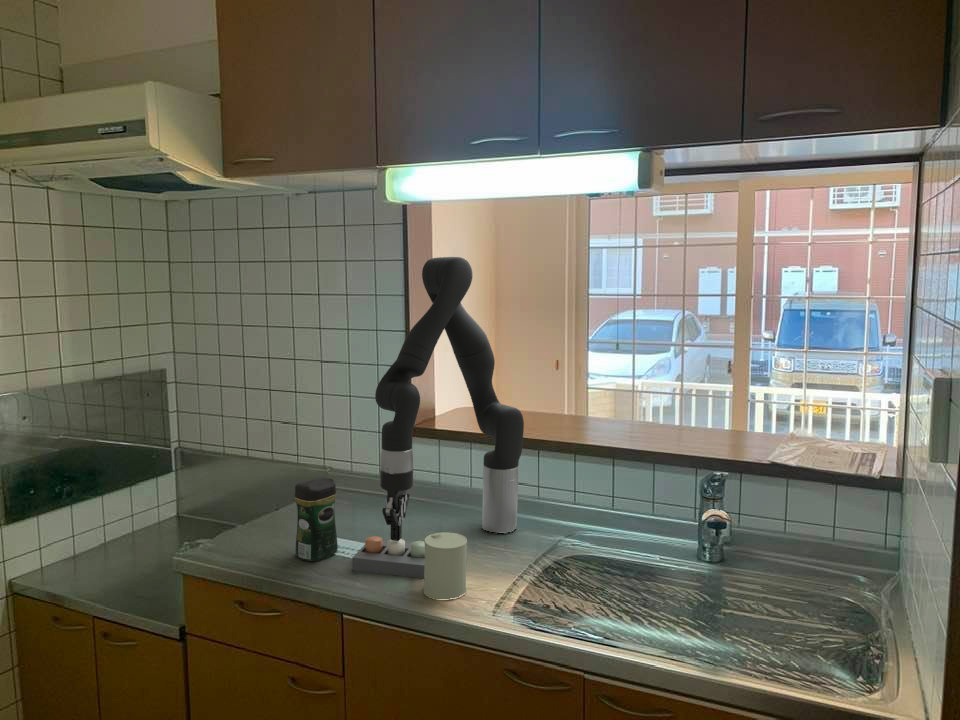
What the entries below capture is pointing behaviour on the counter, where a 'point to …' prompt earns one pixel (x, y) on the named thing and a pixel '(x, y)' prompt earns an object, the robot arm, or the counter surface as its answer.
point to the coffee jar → (316, 519)
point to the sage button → (417, 549)
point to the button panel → (389, 562)
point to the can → (445, 565)
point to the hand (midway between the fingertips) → (395, 539)
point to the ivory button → (396, 547)
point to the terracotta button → (374, 544)
